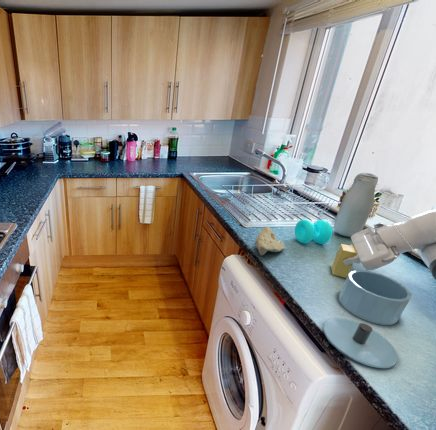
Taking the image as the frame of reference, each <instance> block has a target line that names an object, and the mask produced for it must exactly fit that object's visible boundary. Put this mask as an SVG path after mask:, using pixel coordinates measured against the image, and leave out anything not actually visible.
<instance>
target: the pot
mask: <svg viewBox="0 0 436 430" xmlns="http://www.w3.org/2000/svg"><path fill="white" fill-rule="evenodd" d="M411 299H412V294H411V292H410V290H409V288H407V287H406V286H404V284H402V283H401V282H399V281H397V280H395V279H393V278H392V277H389V276H386V275H383V274H381V273H378V272H375V271H371V270H361V269H357V270H350V272H349V274H348V276H347V278H345V281H344V283H343V285H342V287H341V290H340V292H339V294H338V301H339V303H340V304H341V306H342V307H343V308H344V309H346V310H347V311H348V312H349V313H351V314H352V315H354V316H356V317H357V318H360V319H362V320H364V321H366V322H370V323H371V324H377V325H382V326H393V325H395V324H396V323H397V322H398V321H399V319H400V318H401V316H402V315H403V312H404V311H405V309H406V307H407V305H408V304H409V302H410V300H411Z"/></svg>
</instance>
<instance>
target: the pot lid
mask: <svg viewBox="0 0 436 430" xmlns="http://www.w3.org/2000/svg"><path fill="white" fill-rule="evenodd" d="M322 328H323V329H322V330H323V334H324V336H325V338H326V339H327V341H328V342H329V344H331V346H333V347H334V348H335V349H336V350H337V351H339V352H340V353H342V354H343V355H345V357H348V358H349V359H351V360H352V361H355V362H357V363H360V364H362V365H365V366H368V367H372V368H376V369H389V368H392V367H394V366H395V365H396V363H397V362H398V360H399V357H398V353H397V351H396V349H395V348H394V346H393V345H392V344H391V342H390V341H388V339H386V338H385V337H384V336H383V335H381V334H380V333H378V331H376V330H374V329H373V328H372V327H371V326H370V325H368V323H364V322H357V321H354V320H350V319H346V318H331V319H328V320H327V321H326V322H325V323H324V324H323V327H322Z"/></svg>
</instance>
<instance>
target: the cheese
mask: <svg viewBox="0 0 436 430" xmlns="http://www.w3.org/2000/svg"><path fill="white" fill-rule="evenodd" d="M254 245H255V247H256V249H257V250H258V253H259V255H260V256H264V255H265V254H266V253H267V252H270V253H278V252H281V251H284V250H285V248H286V246H285V244H284V243H283V242H282V241H281V240H278V239H277V237H276V234H275V233H274V231H273V230H272V228H271V227H270V226H264V227H263V228H262V229H261V230H260V231H259V233H258V235H257V236H256V240H255V242H254Z"/></svg>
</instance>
